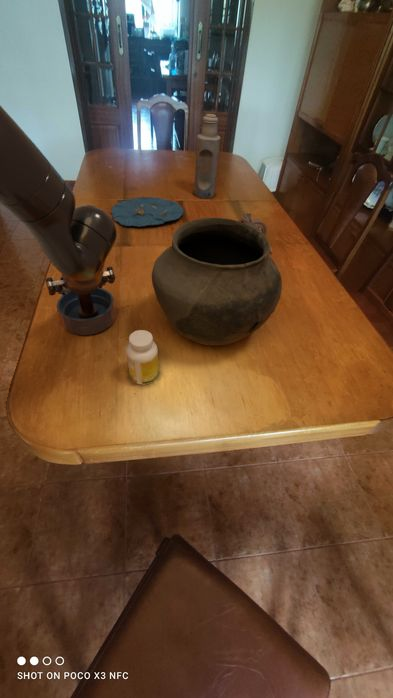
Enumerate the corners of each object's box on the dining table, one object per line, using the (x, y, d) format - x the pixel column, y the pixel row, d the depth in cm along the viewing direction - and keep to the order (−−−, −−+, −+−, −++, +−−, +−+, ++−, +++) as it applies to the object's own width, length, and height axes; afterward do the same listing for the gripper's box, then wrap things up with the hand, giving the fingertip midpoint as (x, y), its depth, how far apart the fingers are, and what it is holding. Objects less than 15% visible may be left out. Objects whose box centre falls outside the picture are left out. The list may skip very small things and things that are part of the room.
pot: (250, 390, 70) (279, 301, 52) (132, 339, 79) (121, 247, 61) (286, 316, 89) (316, 232, 71) (187, 282, 97) (191, 198, 79)
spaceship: (257, 246, 99) (282, 236, 98) (232, 210, 125) (251, 202, 124) (262, 267, 104) (285, 258, 104) (237, 228, 131) (255, 221, 130)
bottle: (191, 196, 143) (196, 115, 121) (196, 189, 150) (201, 111, 128) (212, 200, 142) (220, 118, 120) (216, 192, 149) (224, 113, 127)
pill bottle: (164, 371, 72) (164, 335, 64) (146, 390, 68) (143, 354, 60) (141, 359, 74) (138, 322, 66) (123, 377, 70) (117, 340, 62)
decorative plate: (93, 220, 124) (90, 206, 120) (139, 195, 142) (138, 183, 138) (156, 239, 114) (155, 225, 110) (197, 210, 132) (197, 197, 129)
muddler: (82, 324, 80) (72, 288, 72) (78, 313, 83) (68, 277, 75) (101, 320, 82) (93, 284, 74) (96, 309, 85) (89, 273, 77)
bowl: (67, 343, 76) (61, 326, 72) (58, 309, 85) (52, 292, 81) (122, 329, 81) (120, 312, 77) (108, 298, 89) (105, 281, 85)
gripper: (113, 246, 63) (106, 266, 78) (36, 258, 58) (45, 277, 73) (123, 283, 64) (114, 296, 79) (48, 298, 59) (54, 309, 74)
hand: (81, 287), depth 76 cm, fingers open, 8 cm apart
